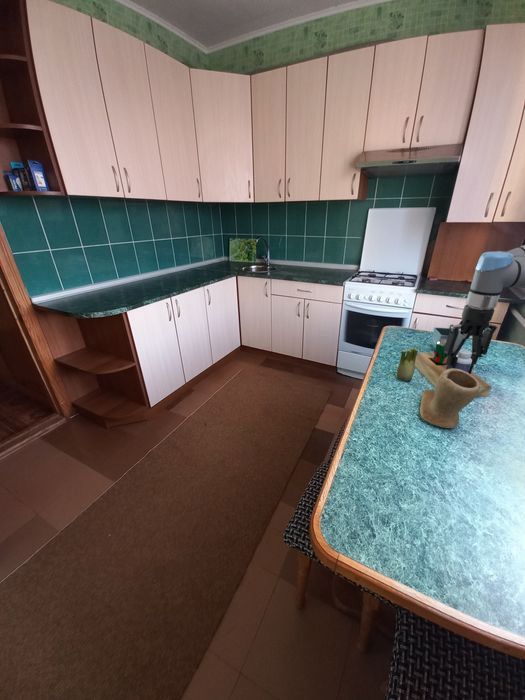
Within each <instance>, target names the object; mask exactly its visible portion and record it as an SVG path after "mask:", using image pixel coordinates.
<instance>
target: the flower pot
mask: <svg viewBox="0 0 525 700" xmlns="http://www.w3.org/2000/svg"><path fill="white" fill-rule="evenodd" d="M449 332H450V330H449V327H433V332H432V344H433V347H434V349H435V347H436V344H437V342H438V341H439V339H447V338H448V335H449ZM458 333H459V332H458ZM457 337H458V336H457Z"/></svg>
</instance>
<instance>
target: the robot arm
mask: <svg viewBox="0 0 525 700" xmlns="http://www.w3.org/2000/svg"><path fill="white" fill-rule="evenodd" d="M469 287H470V288H469V291H468V294H467V297H466V301H465V304H464V308H463V310H462V313H461V320H460V321H459V323H458V324H455V325H454V324H450V325H449V326H448V328H449V330H450V332H449V335H448V338H447V341H446V344H445V347H444V350H443V352H444V353H445V354H447V355H448V358H447V361H446V363H447V368H446V370H447V369H455V366H456V363H457V360H458V357H456V356H457V354H458V352H459V351H460V349H463V346H464V344H465V343H466V341H467V340H469V339H470V337H472V338H471V341H472V342H471V352H472V355H471V357H470V358H471V359H472V363H471V366H470V369H469V372H468V373H469V374H471V372H473V370H474V367H475V365H476V364H477V363H478V361H479V359H481V358H482V357H483V356H485V355H487V354H488V352H489V351H488V350H489V348H490V345H491V341H492V338H493V336H494V333H496V331H497V330H498V326H497V325H494V324H493V323H492V322H491V321H492V320H493V316H494V313H495V311H496V310H495V309H496V308H497V305H498V302H499V300H500V297H501V294H502V292H503V290H504V289H503V288H515V289H517V288H518V289H525V244H524V245H521V246H519V247H516V248H513V249H509V250H507V251H505V250H498V251H486V252H483V253H481V255H480V257H479V259H478V261H477V264H476V266H475V269H474V274H473V277H472V280H471V284H470V286H469ZM490 322H491V323H490ZM458 332H459V333H458ZM457 336H458V337H457Z"/></svg>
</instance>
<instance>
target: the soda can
mask: <svg viewBox="0 0 525 700" xmlns="http://www.w3.org/2000/svg"><path fill="white" fill-rule="evenodd" d="M446 341H447V339H439V341H438V342H437V344H436V347H435V348H434V351H433V353H434V354H433V358H432V362H433V363H434V364H436V365H447V363H446V361H447V358H448V355H447V354H445V353H444V352H443V350H444V347H445V344H446Z"/></svg>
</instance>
